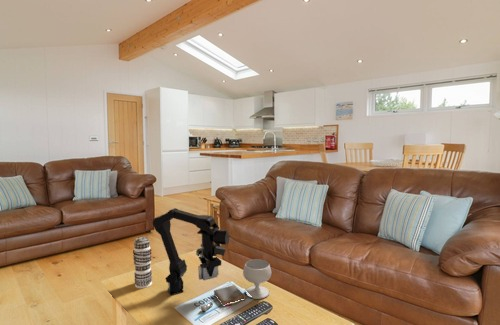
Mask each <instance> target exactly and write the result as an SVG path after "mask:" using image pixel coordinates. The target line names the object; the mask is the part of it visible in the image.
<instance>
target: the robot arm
mask: <svg viewBox="0 0 500 325" xmlns="http://www.w3.org/2000/svg"><path fill="white" fill-rule="evenodd" d="M173 219H175V220H179V221H182V222H185V223H188V224H192V225H194V226H195V227H196V228H198V229H199V230H198V231H197V232H196V233H197V234H198V235H201V243H200V247H201V248H197V249H196V251H195V252H196V253H195V254H196V256H197V257H198V260H199V261H200V264H203V263H206V264H205V266H206V269H207V271H208V274H209V276H210V277H211V276H212V274H213V271H214V268H215V267H217V266H218V267H220V266H222V260H221V259H220V258H219V257H217V255H218V256H221V257H222V256H225V253H226V248H225V247H223V246H222V245H225V246H227V245H229V243H230V237H231V236H230V233H229V231H228V229H220V227H219V225H218V224H217V222H216V220H215V218H214V216H212V215H208V214H200V215H199V214H194V213H191V212H188V211H185V210H181V209H178V208H175V207H174V208H172V209H169V210H168V211H167V212H165V213H164V214H163V213H162V214H160V215H159V216H157V217H155V218H153V220H152V226H153V228H154V230H155V232H156V233H157V234H159V235H160V238H161V240H162V244H163V246H164V249H165V250H164V251H165V252H166V254H167V258H168V260H169V264H168V265H169V267H168V269H169V274H168V276H166V277H165V281H166V283H167V284H168V285H167V286H168V287H167V291H168V293H169V295H170V296H173V295H176V294H182V293H183V292H184V280H183V277H184V275H185V274H186V273H187V270H188V269H187V267H188V265H187V263H186V260H185V259H181V258H180V255H179V253H178V249H177V248H176V243H175V242H174V239H173V236H172V233H171V220H173Z"/></svg>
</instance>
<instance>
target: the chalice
mask: <svg viewBox="0 0 500 325" xmlns="http://www.w3.org/2000/svg"><path fill="white" fill-rule="evenodd" d="M242 272H243V273H242V276H243V277H244V279H245V280H246V281H248V283H252V284H254V285H252V286H249V287H247V288H246V289H245V291H247V292H248V293H249V294H250V295H251V296H252V298H251V299H254V300H261V299H265V298H267V297H268V296H269V295H270V291H269V289H268V288H267V287H264V286H261V284H263V283H265V282H267V281H269V279H270V278H271V277H272V269H271V264H270V262H268V261H267V260H264V259H261V258H259V259H258V258H255V259H254V258H253V259H250V260H247V261H246V262H245V264H244V265H243V271H242Z"/></svg>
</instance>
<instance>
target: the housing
mask: <svg viewBox="0 0 500 325" xmlns="http://www.w3.org/2000/svg"><path fill="white" fill-rule="evenodd" d="M205 264H206V263H203V264H202V263H200V264H199V265H198V280H203V281H207V280H208V281H209V280H211V279H214V278H218V276H219V266H217V267H215V268H214V271H213V274H212V276H211V277H210V276H209V274H208V271H207V269H206V266H205Z"/></svg>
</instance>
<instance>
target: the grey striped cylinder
mask: <svg viewBox="0 0 500 325" xmlns="http://www.w3.org/2000/svg"><path fill="white" fill-rule="evenodd" d="M150 241H151V239H150V238H149V237H148V236H138V237H137V238H135V240H134V241H133V244H134V247H133V248H134V249H133V251H132V254H133V255H132V256H133V264H134V267H135V269H134V285H135V286H134V287H135V288H137V289H144V288H147V287H150V286H151V285H152V284H153V280H152V278H153V276H152V267H151V263H152V248H151V244H150V243H151V242H150Z"/></svg>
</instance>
